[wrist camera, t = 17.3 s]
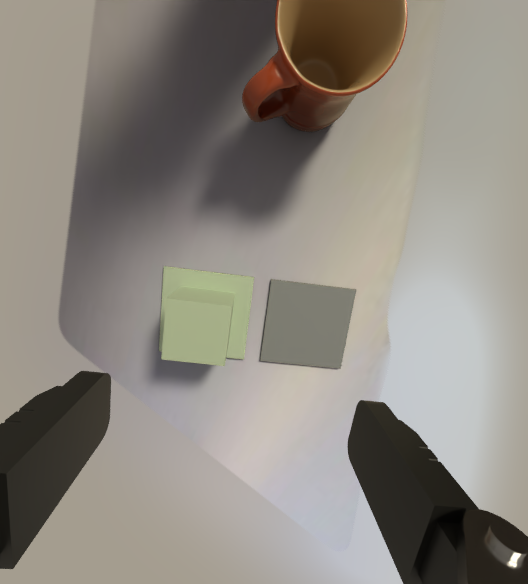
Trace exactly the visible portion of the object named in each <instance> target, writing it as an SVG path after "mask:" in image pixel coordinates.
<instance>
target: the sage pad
mask: <svg viewBox="0 0 528 584" xmlns="http://www.w3.org/2000/svg"><path fill="white" fill-rule="evenodd" d="M253 282H254V277H248V276H240V275H232V274H224V273H215V272H207V271H199V270H191V269H182V268H174V267H166V266H164V272H163V289H162V306H161V323H160V340H159V351H162V344H163V332H164V319H165V306H166V298H167V297H168V296H170V295H171V294H172V293H174V292H175V291H176V290H177V289H179V288H180V287H181V286H184V287H192V288H200V289H207V290H215V291H223V292H230V293H235V298H234V306H233V314H232V321H231V329H230V337H229V344H228V350H227V355H226V358H235V359H244V354H245V346H246V338H247V330H248V322H249V314H250V306H251V298H252V290H253Z"/></svg>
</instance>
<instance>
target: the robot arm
mask: <svg viewBox="0 0 528 584" xmlns="http://www.w3.org/2000/svg"><path fill="white" fill-rule="evenodd" d="M110 395H111V377H110V375H109V374H108V373H99V372H89V371H81V372H79V373H78V374H76V375H75V376H74V377H73V378H72V379H70V380H69V381H68V382H67V383H66V384H65V385H64V386H56V387H54V388H52V389H50V390H48V391H45V392H43V393H41V394H39V395H37V396H35V397H34V398H33V399H32V400H30V401H29V402H28V403H27V404H25V405H24V406H23V407H22V408H20V410H19V412H15V413H14V414H13V415H11V416H10V417H9V418H8V419H6V420H5V423H1V424H0V569H13V568H14V567H15V565H16V564H17V562H18V561H19V560H20V558H21V557H22V555H23V554H24V552H25V551H26V549H27V548H28V547H29V545H30V544H31V542H32V541H33V539H34V538H35V536H36V535H37V534H38V532H39V531H40V529H41V528H42V526H43V525H44V523H45V522H46V520H47V519H48V518H49V516H50V515H51V513H52V512H53V510H54V509H55V507H56V506H57V505H58V503H59V502H60V500H61V499H62V497H63V496H64V494H65V493H66V491H67V490H68V489H69V487H70V486H71V484H72V483H73V481H74V480H75V478H76V477H77V476H78V474H79V473H80V471H81V470H82V468H83V467H84V465H85V464H86V462H87V461H88V460H89V458H90V457H91V455H92V454H93V452H94V451H95V449H96V448H97V447H98V445H99V444H100V442H101V441H102V439H103V437H104V435H105V433H106V431H107V428H108V424H109V419H110ZM348 455H349V459H350V462H351V464H352V467H353V469H354V471H355V474H356V476H357V478H358V480H359V483H360V485H361V487H362V489H363V492H364V494H365V496H366V499H367V501H368V503H369V506H370V508H371V510H372V512H373V515H374V517H375V519H376V522H377V524H378V526H379V529H380V531H381V533H382V536H383V538H384V540H385V542H386V545H387V547H388V549H389V552H390V554H391V556H392V559H393V561H394V563H395V565H396V568H397V570H398V572H399V575H400V577H401V579H402V581H403V584H528V536H526V535H525V534H524V533H523V532H522V531H520V530H519V529H518V528H517V527H515V526H514V525H512V524H511V523H510V522H508V521H506V520H505V519H503V518H501V517H499V516H497V515H495V514H493V513H490V512H488V511H484V510H480V509H478V507H477V506H476V505H475V504H474V502H473V501H472V500H471V499H470V498H469V497H468V495H467V494H466V493H465V491H464V490H463V489H462V488H461V487H460V485H459V484H458V483H457V482H456V480H455V479H454V478H453V477H452V476H451V474H450V473H449V472H448V471H447V469H446V468H445V467H444V466H443V465H442V463H441V462H438V460H437V457H436V456H435V455H434V454H433V453H432V451H431V450H430V449H428V446H427V445H426V444H425V443H424V441H423V440H422V439H421V438H420V436H419V435H418V434H417V433H416V432H415V431H414V430H412V429H411V428H410V427H408V426H407V425H406V424H405V423H404V422H402V421H401V420H398V419H397V418H396V416H395V415H394V414H393V413H392V411H391V410H390V409H389V407H388V406H387V405H386V404H385V403H383V402H374V401H364V400H361V401H359V402H358V404H357V407H356V411H355V415H354V419H353V423H352V427H351V431H350V434H349V438H348Z"/></svg>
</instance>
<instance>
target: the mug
mask: <svg viewBox="0 0 528 584" xmlns="http://www.w3.org/2000/svg"><path fill="white" fill-rule="evenodd" d="M406 27H407V2H406V0H277V5H276V14H275V32H276V38H277V43H278V52H277V53H276V54H275V55H274V56H273V57H272V58H271V59H270V60H269V62H268V63H267V65H266V66H265V67H264V68H262V69H261V70H260V71H259V72H258V73H256V74H255V75H254V76H253V77H252V78H251V79H250V80H249V82H248V83H247V84H246V86H245V88H244V91H243V94H242V103H243V107H244V109H245V111H246V113H247V115H248V116H249V118H250V119H251V120H252V121H254V122H263V121H266V120H269V119H272V118H276V117H280V116H282V117H283V118H284V120H285V121H286V122H287V123H288V124H289V125H290V126H292V127H293V128H295V129H298V130H301V131H306V132H313V131H318V130H321V129H323V128H325V127H327V126H329V125H331V124H332V123H333V122H335V121H336V120H337V119H338V118H339V117H340V116H341V115H342V114H343V113H344V112H345V110H346V109H347V107H348V105H349V104H350V103H351V101H352V100H353V99H354V97H355V96H356V94H357V93H360V92H362V91H364V90H366V89H368V88H370V87H371V86H373V85H374V84H375V83H377V82H378V81H379V80H380V79H381V78H382V77H383V76H384V75H385V74H386V73H387V72H388V70H389V69H390V68H391V66H392V65H393V63H394V62H395V60H396V58H397V56H398V54H399V52H400V49H401V47H402V44H403V41H404V37H405V33H406Z"/></svg>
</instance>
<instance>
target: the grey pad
mask: <svg viewBox="0 0 528 584" xmlns="http://www.w3.org/2000/svg"><path fill="white" fill-rule="evenodd" d="M355 293H356V290H355V289H347V288H339V287H331V286H323V285H314V284H306V283H298V282H290V281H281V280H273V279H271V285H270V292H269V299H268V307H267V314H266V321H265V328H264V336H263V343H262V350H261V358H260V361H266V362H277V363H287V364H298V365H308V366H318V367H329V368H339V369H340V368H341V363H342V358H343V353H344V348H345V343H346V338H347V333H348V328H349V323H350V318H351V313H352V308H353V303H354V298H355Z"/></svg>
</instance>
